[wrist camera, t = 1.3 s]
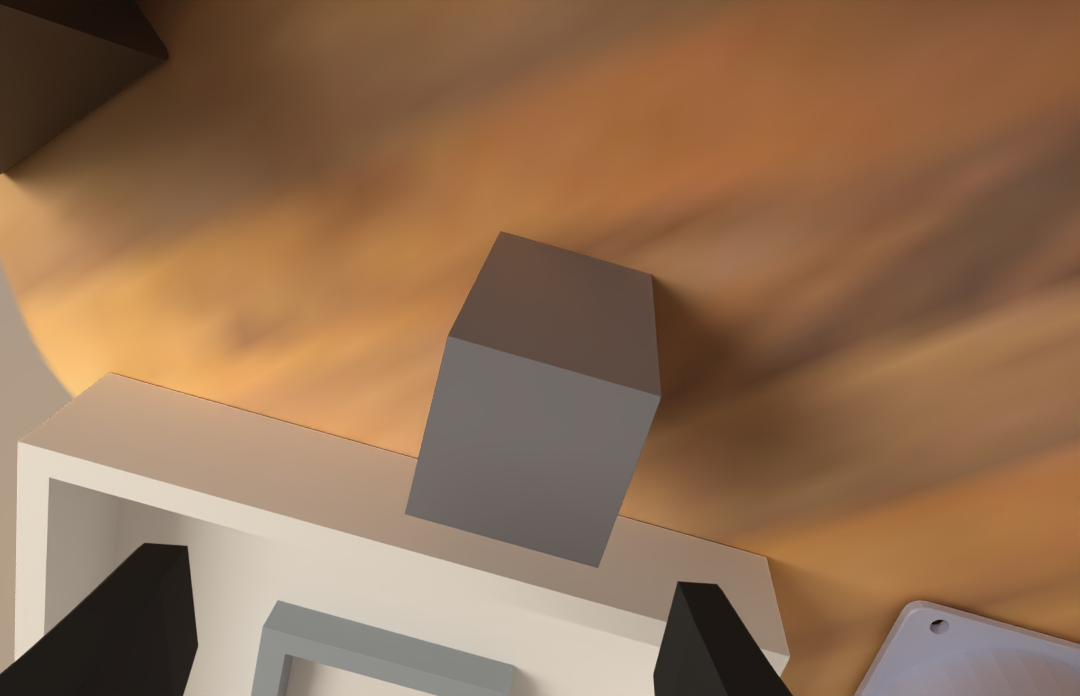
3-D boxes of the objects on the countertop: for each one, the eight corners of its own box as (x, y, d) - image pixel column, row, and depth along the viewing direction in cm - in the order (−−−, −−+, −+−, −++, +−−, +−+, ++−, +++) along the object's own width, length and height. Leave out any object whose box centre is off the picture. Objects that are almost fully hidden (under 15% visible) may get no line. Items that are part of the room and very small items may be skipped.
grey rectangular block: (651, 274, 22) (661, 396, 15) (606, 407, 24) (598, 568, 17) (500, 231, 22) (447, 336, 15) (465, 368, 23) (404, 514, 17)
